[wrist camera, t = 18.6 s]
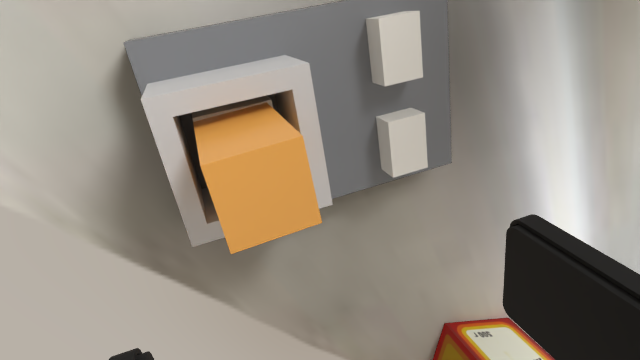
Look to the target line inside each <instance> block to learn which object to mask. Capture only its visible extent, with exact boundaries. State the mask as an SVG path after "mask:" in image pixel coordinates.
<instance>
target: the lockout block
mask: <svg viewBox="0 0 640 360" xmlns="http://www.w3.org/2000/svg"><path fill="white" fill-rule="evenodd" d="M193 125H194V131H195V137H196V143H197V149H198V155H199V161H200V166H201V169H202V172H203V175H204V178H205V181H206V184H207V187H208V189H209V192H210V195H211V198H212V201H213V204H214V207H215V210H216V213H217V215H218V218H219V221H220V224H221V227H222V230H223V233H224V236H225V238H226V241H227V244H228V247H229V250H230V253H231V254H233V253H236V252H239V251H242V250H245V249H248V248H250V247H253V246H256V245H259V244H262V243H265V242H268V241H271V240H274V239H277V238H279V237H282V236H285V235H288V234H291V233H294V232H297V231H300V230H303V229H305V228H308V227H311V226H314V225H317V224H320V223H322V220H321V216H320V211H319V207H318V202H317V198H316V193H315V189H314V184H313V180H312V175H311V171H310V166H309V162H308V157H307V152H306V148H305V143H304V139H303V136H302V135H301V134H300V133H299V132H298V131H297V130H296V129H295V128H294V127H293V126H292V125H291V124H290V123H288V122H287V121H286V120H285V119H284V118H283V117H282V116H281V115H280V114H279V113H278V112H277V111H275V110H274V109H273V108H272V107H271V106H270V105H269V104H268V103H267V102H266V103H262V104H258V105H254V106H251V107H247V108H243V109H240V110H236V111H232V112H228V113H225V114H221V115H217V116H214V117H210V118H206V119H202V120H199V121H195V122H193Z"/></svg>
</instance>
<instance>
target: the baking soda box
mask: <svg viewBox="0 0 640 360" xmlns="http://www.w3.org/2000/svg"><path fill="white" fill-rule="evenodd" d="M433 360H555V359H554V358H553V357H552V356H550V355H549V354H548V353H547V352H546V351H545V350H544V349H543V348H542V347H540V346H539V345H538V344H537V343H536V342H535V341H534V340H533V339H532V338H530V337H529V336H528V335H527V334H526V333H525V332H524V331H523V330H522V329H520V328H519V327H518V326H517V325H516V324H515V323H514V322H513V321H512V320H510V319H509V318H500V319H488V320H477V321H465V322H454V323H445V324H444V327H443V330H442V333H441V336H440V339H439V342H438V345H437V348H436V351H435V355H434V358H433Z"/></svg>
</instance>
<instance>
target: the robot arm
mask: <svg viewBox="0 0 640 360" xmlns="http://www.w3.org/2000/svg"><path fill="white" fill-rule="evenodd" d="M503 306H504V309H505V311H506V313H507V315H508V316H509V317H510V318H511V319H512V320H513V321H514V322H515V323H517V324H518V325H519V326H520V327H521V328H522V329H523V330H524V331H525V332H526V333H527V334H528V335H529V336H530V337H531V338H533V339H534V340H535V341H536V342H537V343H538V344H539V345H540V346H541V347H542V348H543V349H544V350H545V351H546V352H548V353H549V354H550V355H551V356H552V357H553V358H554V359H555V360H640V274H638V273H636V272H634V271H633V270H631V269H629V268H627V267H626V266H624V265H622V264H621V263H619V262H617V261H615V260H614V259H612V258H610V257H608V256H607V255H605V254H603V253H601V252H600V251H598V250H596V249H595V248H593V247H591V246H589V245H588V244H586V243H584V242H582V241H581V240H579V239H577V238H575V237H574V236H572V235H570V234H569V233H567V232H565V231H563V230H562V229H560V228H558V227H556V226H555V225H553V224H551V223H550V222H548V221H546V220H544V219H543V218H541V217H539V216H537V215H528V216H525V217H522V218H520V219H517V220H514V221H512V222H511V224H510V228H508V230H507V233H506V253H505V272H504V291H503ZM109 360H154V358H153V357H152V354H151V353H150V352H145V353H142V352H141V350H140V349H138V348H136V349H133V350H130V351H127V352H124V353H121V354H118V355H115V356H112V357H111V358H110V359H109Z"/></svg>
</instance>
